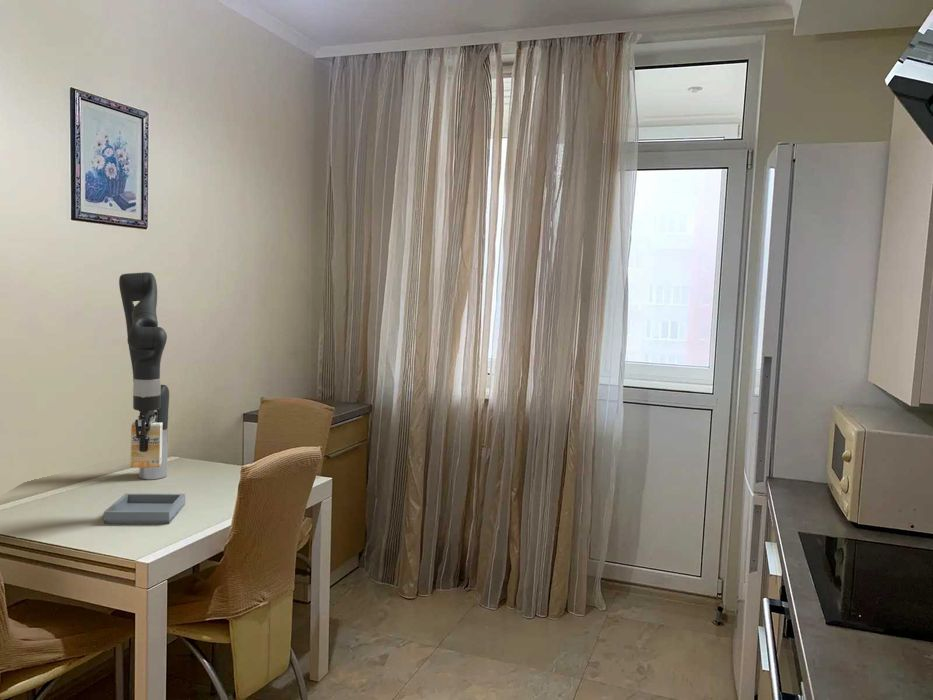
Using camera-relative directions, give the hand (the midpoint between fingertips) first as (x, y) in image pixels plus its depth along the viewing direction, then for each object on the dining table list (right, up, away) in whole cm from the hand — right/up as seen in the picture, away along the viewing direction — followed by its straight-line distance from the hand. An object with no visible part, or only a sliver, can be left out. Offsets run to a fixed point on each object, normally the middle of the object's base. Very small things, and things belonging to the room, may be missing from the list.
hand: (146, 448), depth 213 cm
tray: (-1, -20, +2) cm, 20 cm away
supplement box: (0, -5, +1) cm, 6 cm away
